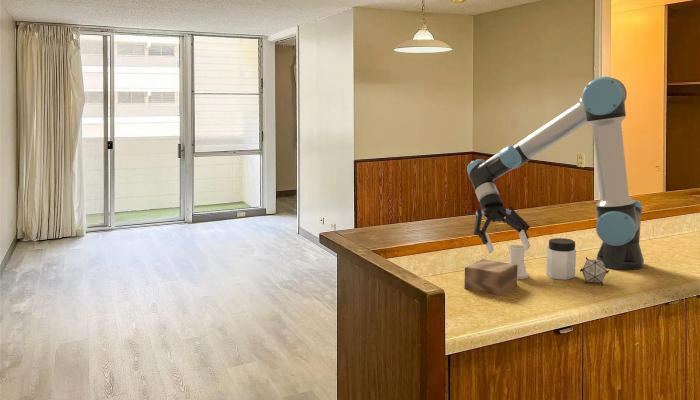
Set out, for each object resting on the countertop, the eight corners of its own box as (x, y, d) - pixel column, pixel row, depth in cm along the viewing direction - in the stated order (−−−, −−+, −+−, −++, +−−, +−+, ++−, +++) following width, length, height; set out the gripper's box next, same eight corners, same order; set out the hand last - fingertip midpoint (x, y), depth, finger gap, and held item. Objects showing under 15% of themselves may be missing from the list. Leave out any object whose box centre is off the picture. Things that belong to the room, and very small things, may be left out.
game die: (596, 293, 190) (615, 267, 190) (598, 291, 182) (618, 265, 182) (571, 276, 193) (590, 251, 193) (572, 274, 186) (591, 248, 185)
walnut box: (516, 286, 187) (517, 264, 186) (500, 296, 178) (501, 273, 177) (481, 279, 194) (482, 258, 193) (464, 289, 185) (464, 267, 184)
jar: (562, 281, 190) (563, 245, 188) (541, 275, 197) (542, 240, 195) (579, 276, 195) (581, 241, 193) (558, 271, 202) (560, 236, 200)
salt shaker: (531, 278, 194) (532, 249, 192) (509, 279, 193) (509, 249, 192) (523, 272, 201) (524, 243, 200) (501, 273, 201) (502, 244, 199)
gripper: (516, 202, 217) (537, 252, 205) (453, 206, 210) (472, 258, 198) (524, 190, 211) (547, 241, 199) (460, 194, 204) (479, 247, 193)
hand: (509, 250), depth 199 cm, fingers open, 13 cm apart
